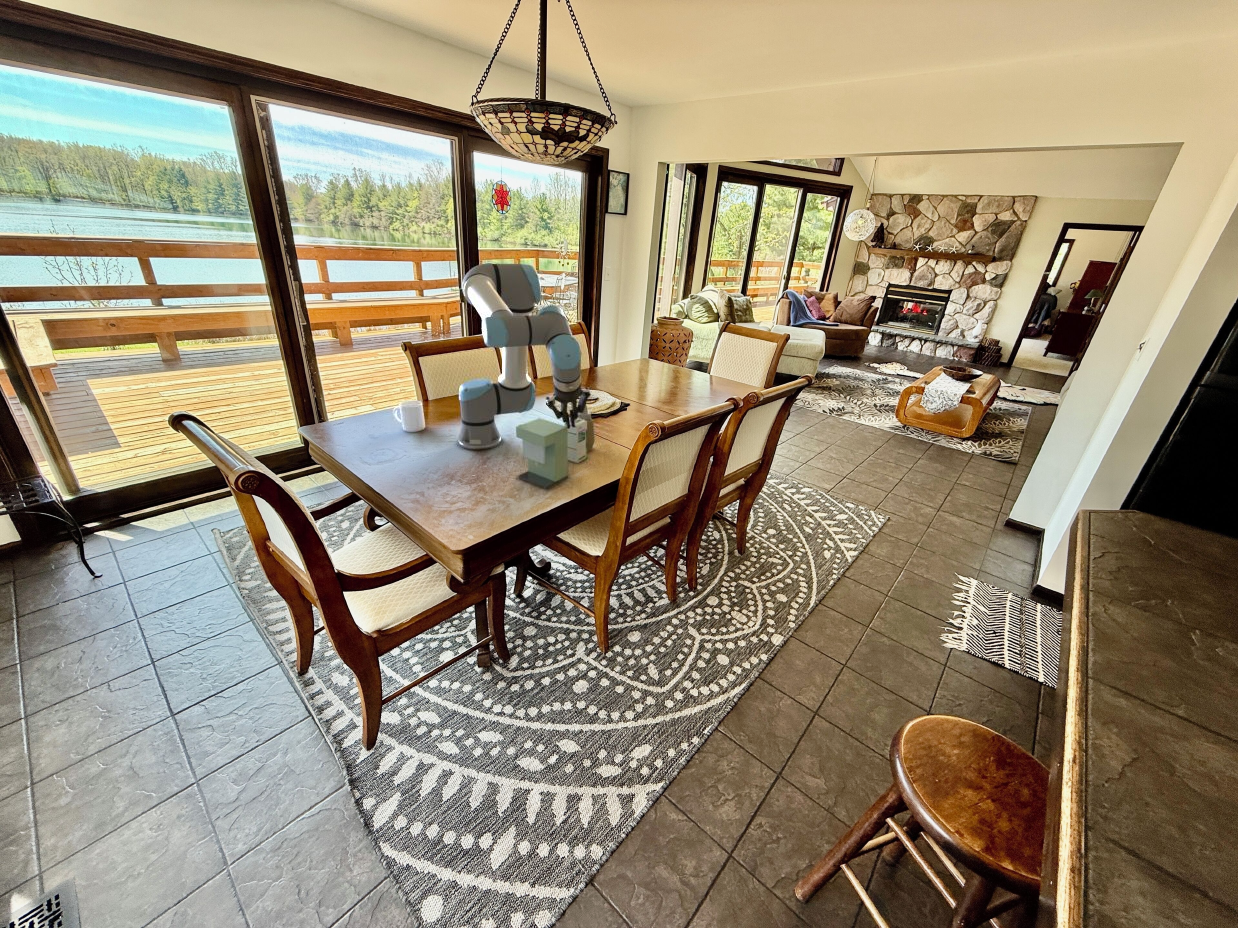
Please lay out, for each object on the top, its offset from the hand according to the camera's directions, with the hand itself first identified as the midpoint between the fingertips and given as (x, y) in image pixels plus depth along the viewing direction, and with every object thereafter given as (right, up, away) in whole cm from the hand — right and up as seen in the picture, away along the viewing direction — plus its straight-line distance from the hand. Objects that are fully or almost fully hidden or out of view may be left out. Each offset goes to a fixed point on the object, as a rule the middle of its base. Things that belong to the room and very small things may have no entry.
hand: (570, 424), depth 152 cm
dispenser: (-9, -17, +5) cm, 20 cm away
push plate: (-11, -11, -1) cm, 16 cm away
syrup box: (0, -11, +20) cm, 23 cm away
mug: (-68, +1, +39) cm, 78 cm away
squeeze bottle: (+2, -7, +28) cm, 29 cm away
